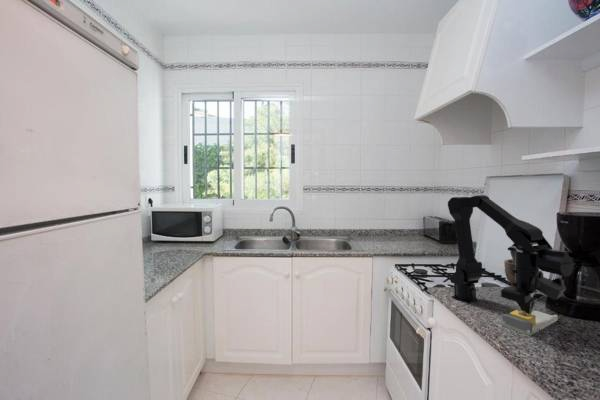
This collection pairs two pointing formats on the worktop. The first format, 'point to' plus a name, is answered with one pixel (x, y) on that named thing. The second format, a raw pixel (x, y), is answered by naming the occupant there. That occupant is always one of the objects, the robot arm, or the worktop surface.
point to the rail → (526, 326)
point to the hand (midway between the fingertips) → (527, 316)
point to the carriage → (524, 316)
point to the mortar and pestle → (510, 268)
